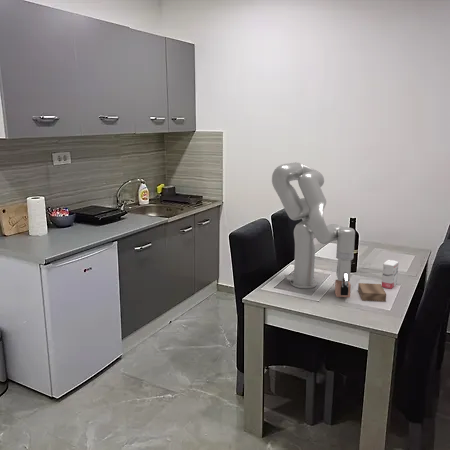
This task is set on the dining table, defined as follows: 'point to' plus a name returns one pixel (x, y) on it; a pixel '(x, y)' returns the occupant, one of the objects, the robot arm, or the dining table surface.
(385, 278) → the ink box
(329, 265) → the dining table surface
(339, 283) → the clay cube
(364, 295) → the walnut block
